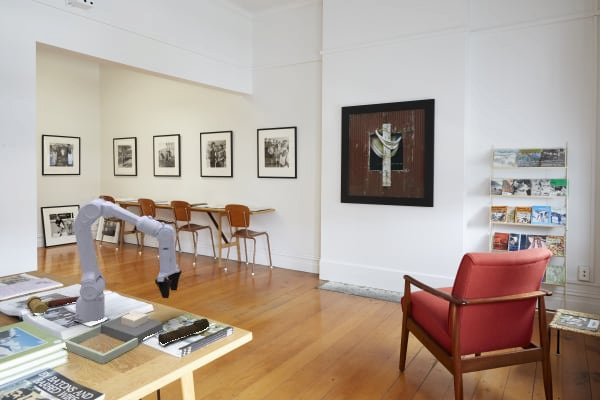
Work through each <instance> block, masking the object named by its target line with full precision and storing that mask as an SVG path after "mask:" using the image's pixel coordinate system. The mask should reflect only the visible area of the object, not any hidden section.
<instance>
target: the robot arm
mask: <svg viewBox="0 0 600 400" xmlns="http://www.w3.org/2000/svg"><path fill="white" fill-rule="evenodd" d="M101 217H102V218H103V219H104V218H105V219H106V218H111V217H113V218H116V219H118V220H121V221H124V222H126V223H129V224H131V225H134V226H135V227H136V229H137V231H139V232H141V233H143V234H145V235H148V236H150V237H153V238H156V240H157V242H158V255H159V256H158V257H159V258H158V259H159V270H158V271H159V273H158V275H157V277H156V279H155V280H154V284H155V285H156V286H157V287H158V290H159V292H160V294H161V297H162V299H169V298H170V291H176V292H177V291H178V286H179V281H180V277H181V275H182V273H183V272H182V270H181V269H179V268H180V267H179V263H177V255H176V245H175V243H176V242H175V238H174V237H175V235H176V231H175V228H174V227H173V226H172V225H171V224H169V223H165V222H163V221H162V222H161V221H158V220H156V219H154V218H153V216H151V215H148V216H147V215H143V216H140V215H137V214H135V213H133V212H132V211H129V210H128V209H125V208H123V207H121V206H119V205H117V204H115V203H114V202H112V201H108V200H105V199H103V198H100V197H99V198H95V199H93V200H91V201H87V202H85V203H83V205H82V206H81V207H80V208H78V212H77V215H76V217H75V219H74V221H73V230H74V235H75V242H76V246H77V251H78V256H79V262H80V267H81V268H80V269H81V273H82V275H81V278H80V289H79V296H80V297H79V298H78V299H77V301H76V303H75V319H76V318H78V319H81V320H83V321H86V322H90V321H98V320H101V319H103V318H104V317H106V316H105V309H106V308H105V303H106V302H105V300H106V299H105V298H106V297H105V296H106V295H105V293H104V290H105V288H106V287H107V281H106V279H105V278H104V276H103V273H102V271H101V270H100V268H99V266H98V259H97V253H96V248H95V242H94V237H93V236H94V235H93V231H92V226H93V225H94V224H95V223H96V221H97V220H98V219H100V218H101Z"/></svg>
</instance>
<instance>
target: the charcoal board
mask: <svg viewBox="0 0 600 400" xmlns="http://www.w3.org/2000/svg"><path fill="white" fill-rule="evenodd" d="M129 313H130V312H128V313H126V314H123V315H120V316H118V317H115V318H113V319H110V320H108V321H105V322H103V323H100V326H101V333H100V334H103V335H105V336H108V337H111V338H114V339H117V340H121V341H123V342H125V343H126V342H128V341H130V340H132V339H134V338H138V345H139V344H141V343H142V342H144V341H143V339H144V338H145V337H147V336H150V335H152V334H155V333H157V332H159V331H161V330H163V331H164V329H163V327H164V323H163V322H162V321H158V320H155V319H151V318H149V317H148V322H146V323H144V324H142V325H139V326H137V327H135V328H133V327H130V326H127V325H124V324H121V317H122V316H124V315H127V314H129Z"/></svg>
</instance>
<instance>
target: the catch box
mask: <svg viewBox="0 0 600 400" xmlns="http://www.w3.org/2000/svg"><path fill="white" fill-rule="evenodd" d="M100 334H102V333H101V325H96V326H93V327H91V328H89V329H86V330H85V331H82V332H80V333H77V334H76V335H73V336H70V337H67V338H66V339H63V340H64V341H65V343H66V347H67V350H66V351H69V352H71V353H74V354H76V355H79V356H82V357H84V358H87V359H89V360H91V361H95V362H97V363H100V364H103V365H104V364H107V363H108V362H110V361H112V360H113V359H116V358H117V357H120V356H122V355H123V354H125V353H127V352H129V351H131V350H133V349H134V348H136V347H139V344H138V338H134V339H132V340H130V341H128V342H126V341H125V342H124V343H123V344H120V345H118V346H116V347H114V348H112V349H110V350H108V351H106V352H105V353H103V352H100V351H98V350H95V349H93V348H90V347H87V346H85V345H81V344H80V343H81V342H84V341H87V340H88V339H91V338H93V337H95V336H98V335H100Z"/></svg>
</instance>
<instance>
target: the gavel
mask: <svg viewBox="0 0 600 400" xmlns="http://www.w3.org/2000/svg"><path fill="white" fill-rule="evenodd" d="M80 296H81V295H79V296H72V297H66V298H59V299H53V300H52V299H51V300H47V301H42V299H41V298H40V297H39V296H38V295H37V296H36V295H34V296H30V297H29V298H28V299H27V300H26V307H28V309H30V308H31V309H30V310H31V311H32V314H34V313H44V312H46V313H47V312H48V309H49V308H54V307H53V306H55V307H59V306H58V305H62V306H64V305H63V304H67V303H72V302H76V301H77V299H78V298H79V297H80Z"/></svg>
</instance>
